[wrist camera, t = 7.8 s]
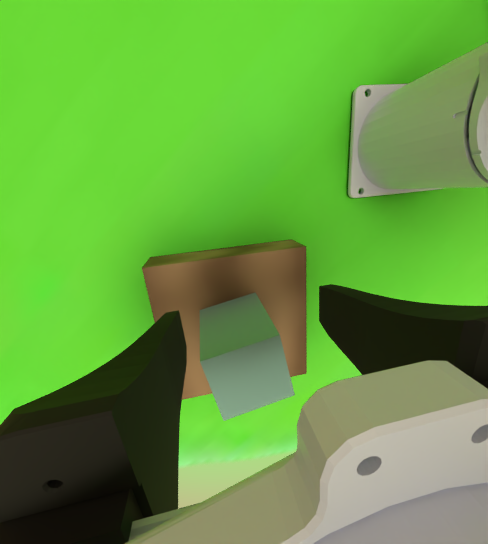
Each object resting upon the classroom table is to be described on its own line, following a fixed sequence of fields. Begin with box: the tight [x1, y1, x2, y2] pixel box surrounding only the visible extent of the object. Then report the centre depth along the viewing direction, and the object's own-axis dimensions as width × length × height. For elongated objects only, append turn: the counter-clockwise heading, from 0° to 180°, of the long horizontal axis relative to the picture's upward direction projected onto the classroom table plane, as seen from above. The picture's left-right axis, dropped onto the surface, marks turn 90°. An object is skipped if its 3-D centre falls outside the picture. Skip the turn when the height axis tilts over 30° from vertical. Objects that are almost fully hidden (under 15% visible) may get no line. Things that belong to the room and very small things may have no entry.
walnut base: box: [142, 240, 306, 400], centre depth 21 cm, size 12×12×3 cm
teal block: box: [200, 293, 294, 420], centre depth 16 cm, size 4×4×6 cm
